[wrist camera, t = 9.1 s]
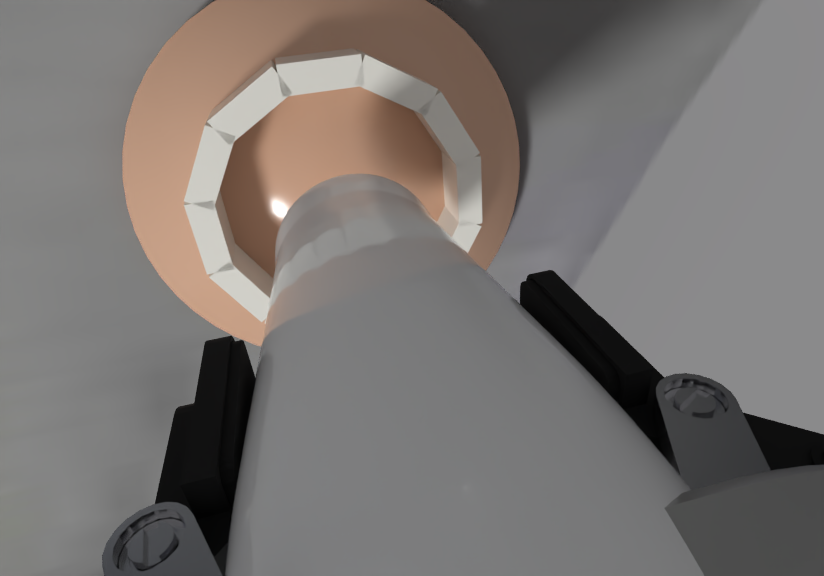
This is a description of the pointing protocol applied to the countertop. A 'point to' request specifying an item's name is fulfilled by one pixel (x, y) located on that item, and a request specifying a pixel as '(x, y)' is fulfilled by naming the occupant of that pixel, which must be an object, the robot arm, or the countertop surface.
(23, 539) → the countertop surface
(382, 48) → the tan saucer
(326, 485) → the drinking glass
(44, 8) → the countertop surface
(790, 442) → the robot arm
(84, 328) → the countertop surface
